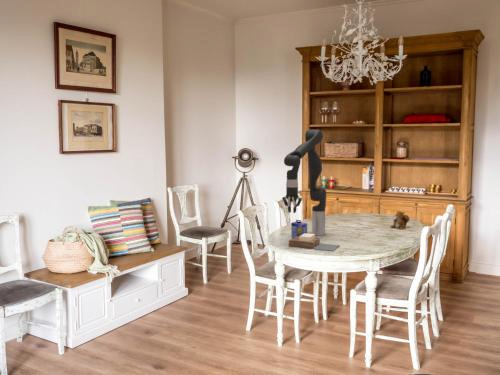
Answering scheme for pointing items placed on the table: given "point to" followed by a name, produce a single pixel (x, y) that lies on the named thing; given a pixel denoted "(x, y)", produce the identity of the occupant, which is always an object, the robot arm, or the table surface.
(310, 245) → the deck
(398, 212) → the stuffed squirrel
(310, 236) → the cream rectangular block
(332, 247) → the mat
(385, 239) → the table surface
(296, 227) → the ink cartridge box
